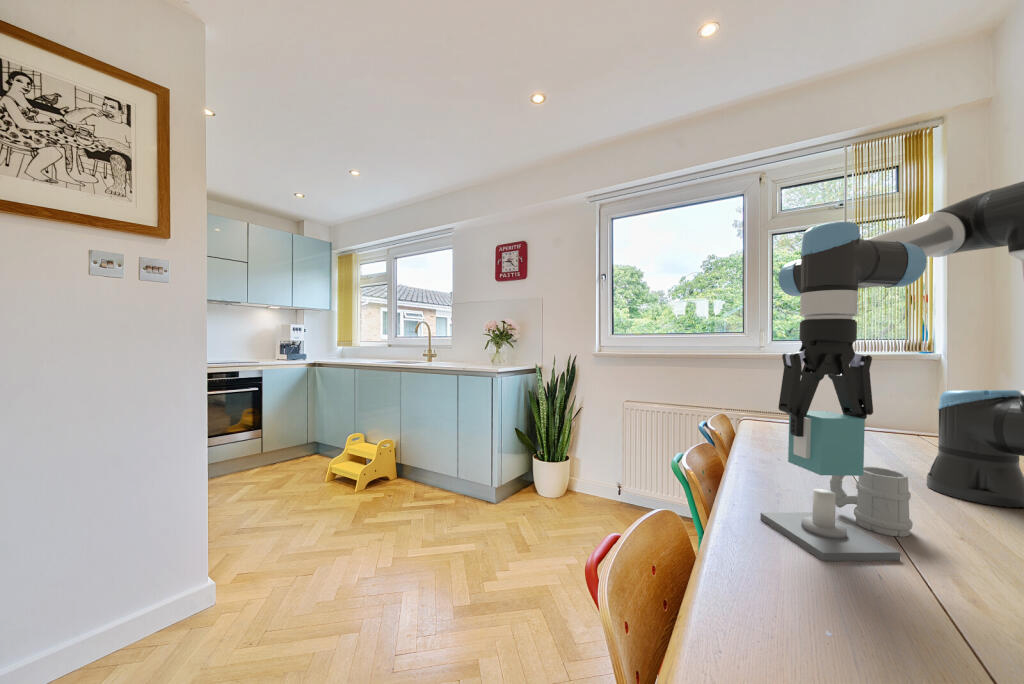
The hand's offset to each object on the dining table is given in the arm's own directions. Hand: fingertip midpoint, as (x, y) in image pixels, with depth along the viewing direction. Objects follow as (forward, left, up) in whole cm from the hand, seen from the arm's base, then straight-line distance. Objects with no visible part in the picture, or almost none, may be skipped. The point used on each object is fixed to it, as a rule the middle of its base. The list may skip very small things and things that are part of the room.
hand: (824, 456), depth 67 cm
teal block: (0, 0, -2) cm, 2 cm away
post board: (0, 0, -14) cm, 14 cm away
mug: (-13, -6, -14) cm, 20 cm away
